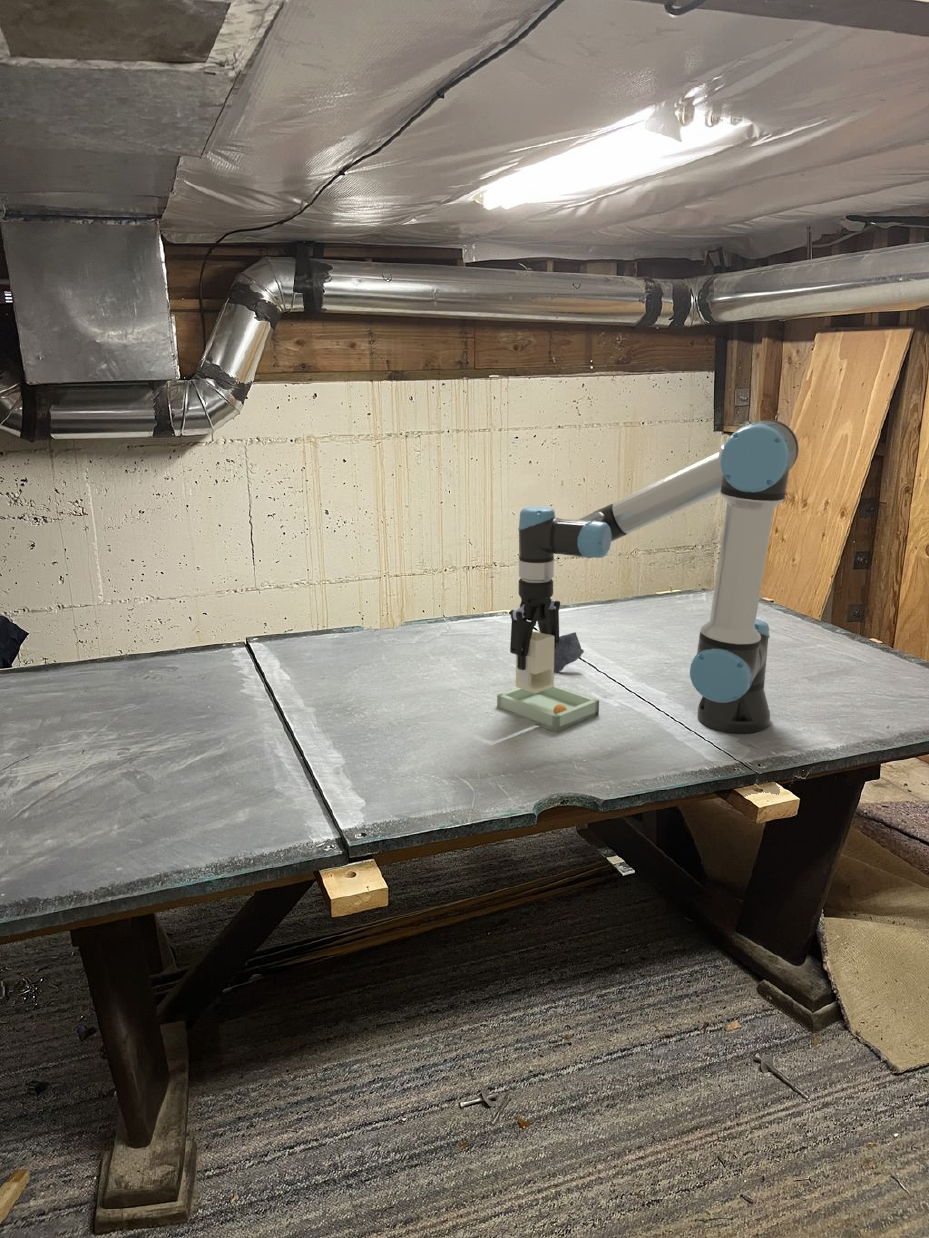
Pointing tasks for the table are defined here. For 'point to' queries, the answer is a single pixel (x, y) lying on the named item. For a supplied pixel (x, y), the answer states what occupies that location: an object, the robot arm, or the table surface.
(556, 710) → the ball
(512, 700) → the tray
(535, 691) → the hollow box
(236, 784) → the table surface
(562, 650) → the stone
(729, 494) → the robot arm
